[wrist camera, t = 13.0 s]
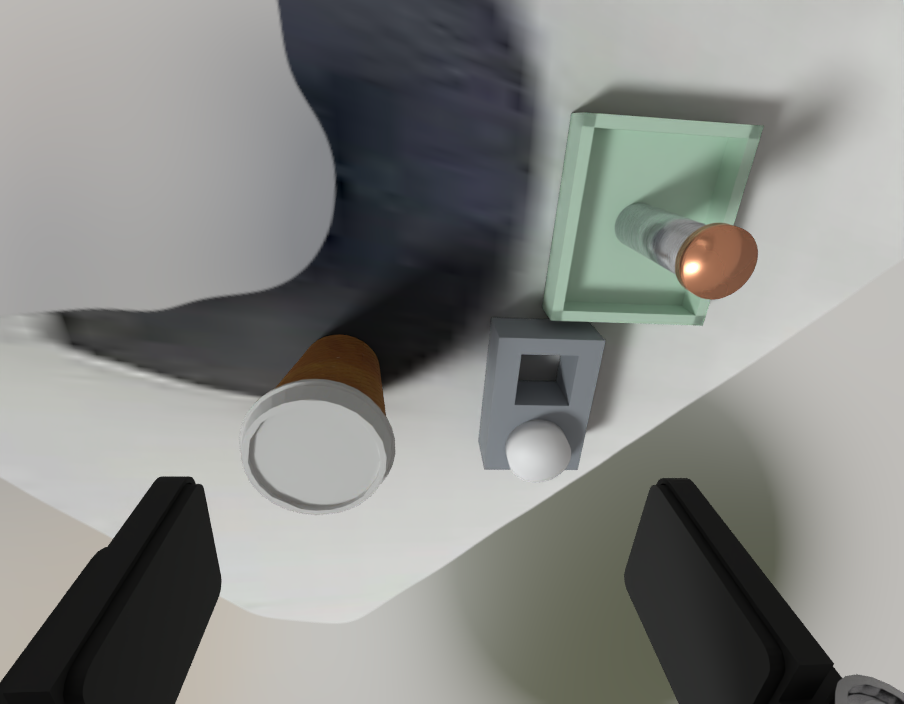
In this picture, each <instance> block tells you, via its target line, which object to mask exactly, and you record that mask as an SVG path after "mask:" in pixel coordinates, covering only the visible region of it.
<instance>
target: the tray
mask: <svg viewBox="0 0 904 704" xmlns="http://www.w3.org/2000/svg"><path fill="white" fill-rule="evenodd" d="M763 127H764V126H759V125H746V124H733V123H719V122H706V121H692V120H679V119H666V118H652V117H639V116H626V115H612V114H599V113H586V112H583V113H571V119H570V126H569V132H568V139H567V145H566V152H565V159H564V165H563V172H562V179H561V185H560V192H559V198H558V205H557V212H556V218H555V225H554V231H553V238H552V245H551V251H550V258H549V264H548V271H547V278H546V284H545V291H544V297H543V304H542V308H543V310H544V311H545V313H546V314H547V316H548V317H549V318H550V320H552V321H581V322H611V323H640V324H670V325H700V326H703V323H704V320H705V317H706V313H707V310H708V307H709V304H710V300H711V299H704V298H700V297H698V296H696V295H695V294H693V293H691V292H690V291H688V290H686V289H685V288H684V287H683V286H682V285H681V284H680V283H679V281H678V280H677V277H676V275H675V274H674V273H672V272H670V271H669V270H667V269H665V268H663V267H662V266H660V265H658V264H657V263H655V262H653V261H651V260H650V259H648V258H646V257H645V256H643V255H641V254H639V253H638V252H636V251H634V250H633V249H631V248H629V247H627V246H626V245H624V244H622V243H621V242H620V241H619V240H618V239H617V237H616V234H615V222H616V219H617V217H618V215H619V214H620V212H621V211H622V210H623V209H624V208H625V207H627V206H629V205H631V204H633V203H638V202H641V203H646V204H649V205H652V206H655V207H658V208H660V209H663V210H666V211H669V212H672V213H675V214H677V215H680V216H683V217H686V218H689V219H692V220H695V221H697V222H700V223H703V224H706V225H708V224H711V223H727V224H730V225H734V222H735V219H736V215H737V212H738V209H739V205H740V202H741V199H742V196H743V192H744V189H745V186H746V183H747V179H748V176H749V173H750V169H751V166H752V163H753V160H754V156H755V153H756V150H757V147H758V143H759V140H760V137H761V134H762V130H763Z"/></svg>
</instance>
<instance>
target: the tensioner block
mask: <svg viewBox="0 0 904 704" xmlns="http://www.w3.org/2000/svg"><path fill="white" fill-rule="evenodd" d="M604 346H605V340H604V338H603V337H602V336H601V335H600V334H599V333H598V332H597V330H596V329H595V328H594V327H593V326H592V325H591V324H590V322H581V321H552V320H549V319H520V318H491V326H490V336H489V345H488V355H487V364H486V374H485V383H484V393H483V402H482V412H481V421H480V431H479V440H478V441H479V446H480V451H481V456H482V461H483V466H484V469H487V470H511V471H512V472H513V473H514V474H515V475H516V476H517V477H518V478H520V479H522V480H524V481H527V482H544V481H548V480H551V479H553V478H555V477H556V476H558V475H559V474H561V473H562V472H563V471H564V470H578V465H579V461H580V456H581V452H582V447H583V442H584V438H585V433H586V429H587V424H588V419H589V415H590V410H591V406H592V401H593V396H594V392H595V387H596V383H597V378H598V373H599V369H600V364H601V360H602V355H603V350H604ZM521 354H529V355H560V361H559V366H558V372H557V378H556V382H555V381H518V376H519V368H520V361H521Z"/></svg>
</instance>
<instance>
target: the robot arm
mask: <svg viewBox="0 0 904 704" xmlns="http://www.w3.org/2000/svg"><path fill="white" fill-rule="evenodd" d="M624 578H625V585H626V589H627V591H628V593H629V596H630V598H631V600H632V602H633V604H634V607H635V609H636V611H637V613H638V615H639V617H640V620H641V622H642V624H643V626H644V628H645V631H646V633H647V635H648V637H649V639H650V642H651V644H652V646H653V648H654V650H655V653H656V655H657V657H658V659H659V661H660V664H661V666H662V668H663V670H664V672H665V674H666V677H667V679H668V681H669V683H670V685H671V688H672V690H673V692H674V694H675V696H676V699H677V701H678V703H679V704H904V693H902V692H901V691H899V690H897V689H896V688H894V687H892V686H891V685H889V684H887V683H885V682H882V681H880V680H877V679H875V678H872V677H868V676H862V675H851V676H845V677H844V678H842V677H841V676H840V675H839V674H838V672H837V671H836V670H835V668H834V667H833V665H834V663H833V662H832V660H831V659H830V658H829V657H828V655H827V654H826V653H825V651H824V650H823V649H822V648H821V646H820V645H819V644H818V642H817V641H816V640H815V639H814V637H813V636H812V635H811V633H810V632H809V631H808V630H807V628H806V627H805V626H804V624H803V623H802V622H801V621H800V619H799V618H798V617H797V615H796V614H795V613H794V612H793V610H792V609H791V608H790V606H789V605H788V604H787V602H786V601H785V600H784V599H783V598H782V596H781V595H780V593H779V592H778V591H777V590H776V588H775V587H774V586H773V584H772V583H771V582H770V581H769V579H768V578H767V577H766V576H765V574H764V573H763V572H762V570H761V569H760V568H759V566H758V565H757V564H756V563H755V561H754V560H753V559H752V557H751V556H750V555H749V554H748V552H747V551H746V550H745V548H744V547H743V546H742V544H741V543H740V542H739V541H738V539H737V538H736V537H735V536H734V534H733V533H732V532H731V530H730V529H729V528H728V526H727V525H726V524H725V523H724V522H723V520H722V519H721V517H720V516H719V515H718V514H717V512H716V511H715V510H714V509H713V507H712V506H711V505H710V504H709V502H708V501H707V499H706V498H705V497H704V496H703V494H702V493H701V492H700V490H699V489H698V488H697V486H696V485H695V484H694V483H693V482H692V481H691V480H690V479H687V478H662V479H660V480H659V481H658V482H657V484H656V485H653V486H652V487H651V488H650V490H649V493H648V496H647V500H646V503H645V506H644V510H643V513H642V516H641V520H640V523H639V526H638V530H637V533H636V536H635V539H634V543H633V546H632V549H631V553H630V556H629V559H628V563H627V566H626V569H625V574H624ZM220 590H221V574H220V569H219V563H218V558H217V553H216V548H215V543H214V538H213V533H212V528H211V523H210V518H209V512H208V507H207V502H206V497H205V492H204V488H203V486H202V485H201V484H195V481H194V479H193V478H192V477H159V478H157V479H156V480H155V482H154V483H153V484H152V486H151V487H150V488H149V490H148V491H147V493H146V494H145V495H144V497H143V498H142V500H141V501H140V502H139V504H138V505H137V506H136V508H135V509H134V511H133V512H132V513H131V515H130V516H129V518H128V519H127V520H126V522H125V523H124V525H123V526H122V527H121V529H120V530H119V531H118V533H117V534H116V536H115V537H114V538H113V540H112V541H111V543H110V544H109V545H108V547H105V548H103V549H101V550H100V551H98V552H97V553H96V554H95V555H94V557H93V558H92V559H91V560H90V562H89V563H88V564H87V566H86V567H85V568H84V570H83V571H82V572H81V574H80V575H79V576H78V578H77V579H76V580H75V582H74V583H73V584H72V586H71V587H70V589H69V590H68V591H67V593H66V594H65V595H64V597H63V598H62V599H61V601H60V602H59V603H58V605H57V607H56V608H55V609H54V610H53V612H52V613H51V614H50V616H49V617H48V618H47V620H46V621H45V623H44V624H43V625H42V627H41V628H40V629H39V631H38V632H37V633H36V635H35V636H34V637H33V639H32V640H31V641H30V643H29V644H28V646H27V647H26V648H25V650H24V651H23V652H22V654H21V655H20V656H19V658H18V659H17V660H16V662H15V663H14V665H13V666H12V667H11V669H10V670H9V671H8V673H7V674H6V675H5V677H4V678H3V680H2V681H1V682H0V704H175V702H176V700H177V697H178V695H179V693H180V690H181V688H182V685H183V683H184V680H185V678H186V676H187V673H188V671H189V668H190V666H191V663H192V661H193V659H194V656H195V653H196V651H197V648H198V646H199V644H200V641H201V639H202V637H203V634H204V632H205V629H206V627H207V624H208V622H209V619H210V617H211V615H212V612H213V610H214V607H215V605H216V602H217V600H218V597H219V594H220Z"/></svg>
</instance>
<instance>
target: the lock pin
mask: <svg viewBox="0 0 904 704" xmlns="http://www.w3.org/2000/svg"><path fill="white" fill-rule="evenodd" d="M615 234H616V237H617V239H618V240H619V241H620V242H621V243H622V244H624V245H626V246H627V247H629V248H631V249H633V250H634V251H636V252H638V253H639V254H641V255H643V256H645V257H646V258H648V259H650V260H651V261H653V262H655V263H657V264H658V265H660V266H662V267H663V268H665V269H667V270H669V271H670V272H672V273H674V274H675V275H676V277H677V280H678V281H679V283H680V284H681V285H682V286H683V287H684V288H685V289H686V290H688V291H690V292H691V293H693V294H695V295H696V296H698V297H700V298H704V299H720V298H723V297H726V296H728V295H730V294H732V293H734V292H735V291H737V290H738V289H740V288H741V287H742V286H743V285H744V284H745V283H746V282H747V280H748V279H749V278H750V276H751V275H752V273H753V271H754V269H755V266H756V263H757V257H758V250H757V245H756V242H755V240H754V238H753V237H752V235H751V234H750V233H749V232H747V231H746V230H744V229H742V228H740V227H736V226H733V225H730V224H727V223H711V224H708V225H706V224H703V223H700V222H697V221H695V220H692V219H689V218H686V217H683V216H680V215H677V214H675V213H672V212H669V211H666V210H663V209H660V208H658V207H655V206H652V205H649V204H646V203H641V202H638V203H633V204H631V205H629V206H627V207H625V208H624V209H623V210H622V211H621V212H620V214H619V215H618V217H617V219H616V222H615Z"/></svg>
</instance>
